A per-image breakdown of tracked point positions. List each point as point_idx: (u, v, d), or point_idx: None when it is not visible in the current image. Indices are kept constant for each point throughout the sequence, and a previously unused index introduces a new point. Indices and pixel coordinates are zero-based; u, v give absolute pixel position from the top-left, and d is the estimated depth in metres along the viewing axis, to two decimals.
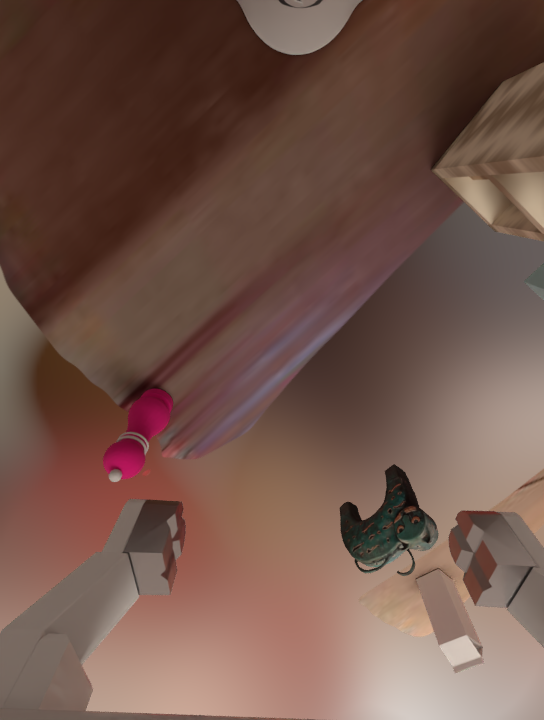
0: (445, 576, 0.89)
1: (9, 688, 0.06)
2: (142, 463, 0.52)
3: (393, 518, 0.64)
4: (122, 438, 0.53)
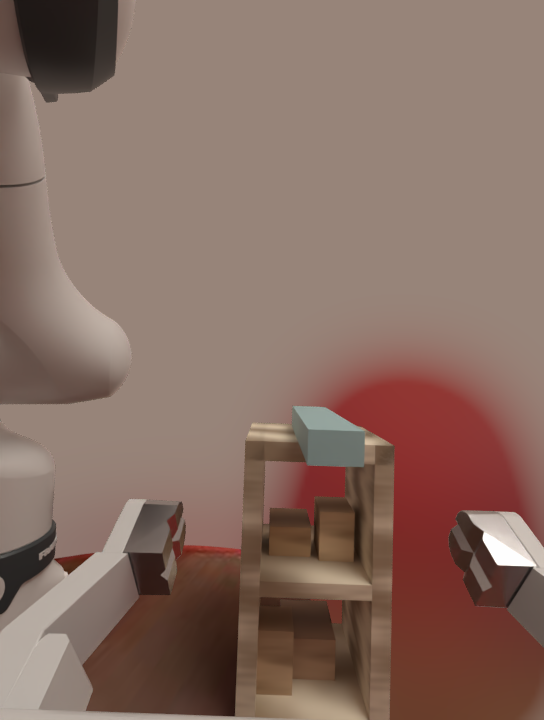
0: None
1: (9, 688, 0.06)
2: None
3: None
4: None
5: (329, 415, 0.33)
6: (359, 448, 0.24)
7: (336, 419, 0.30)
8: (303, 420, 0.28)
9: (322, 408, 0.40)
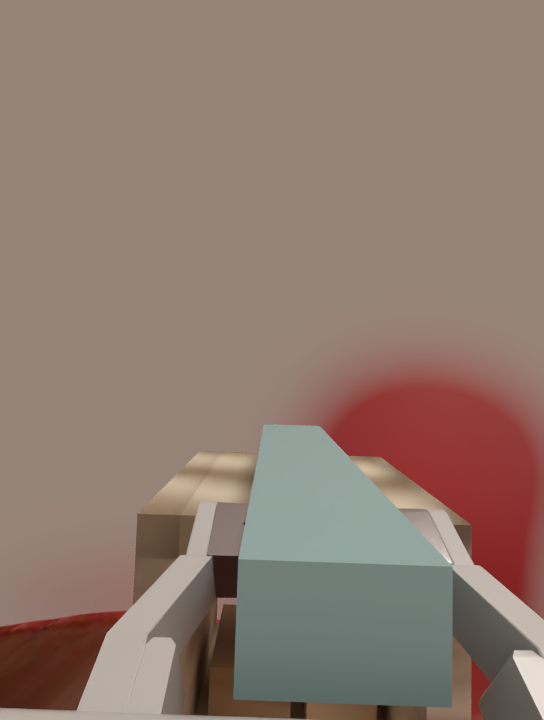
0: None
1: (127, 692, 0.06)
2: None
3: None
4: None
5: (325, 453, 0.15)
6: (432, 632, 0.06)
7: (341, 471, 0.12)
8: (256, 481, 0.11)
9: (314, 429, 0.22)
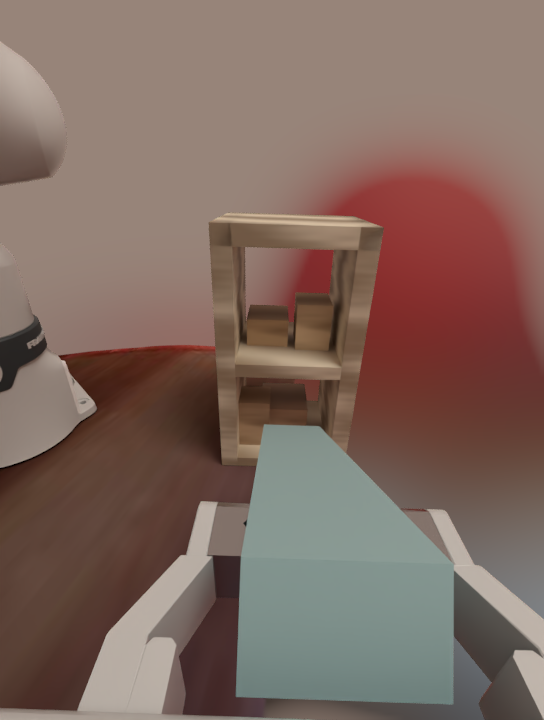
0: None
1: (127, 692, 0.06)
2: None
3: None
4: None
5: (325, 453, 0.15)
6: (433, 629, 0.06)
7: (341, 471, 0.12)
8: (257, 480, 0.11)
9: (314, 429, 0.22)
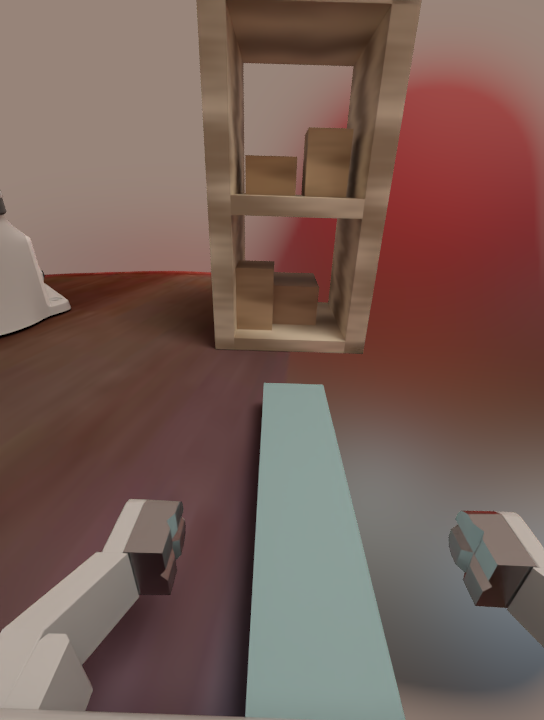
0: None
1: (9, 688, 0.06)
2: None
3: None
4: None
5: (327, 489, 0.15)
6: None
7: (342, 553, 0.12)
8: (254, 596, 0.11)
9: (317, 399, 0.21)
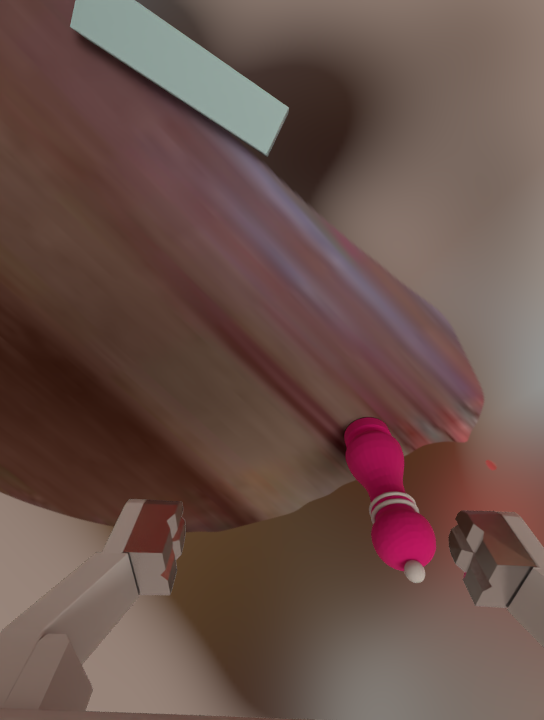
0: None
1: (9, 688, 0.06)
2: (413, 522, 0.32)
3: None
4: (374, 522, 0.36)
5: (187, 53, 0.28)
6: (286, 114, 0.30)
7: (220, 74, 0.28)
8: (220, 123, 0.30)
9: None
